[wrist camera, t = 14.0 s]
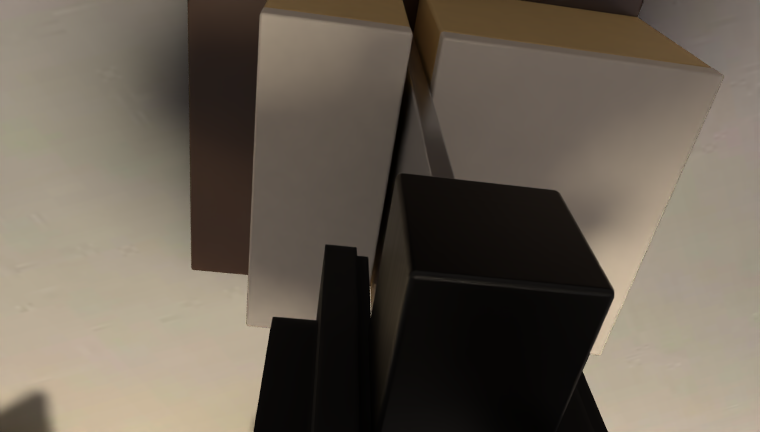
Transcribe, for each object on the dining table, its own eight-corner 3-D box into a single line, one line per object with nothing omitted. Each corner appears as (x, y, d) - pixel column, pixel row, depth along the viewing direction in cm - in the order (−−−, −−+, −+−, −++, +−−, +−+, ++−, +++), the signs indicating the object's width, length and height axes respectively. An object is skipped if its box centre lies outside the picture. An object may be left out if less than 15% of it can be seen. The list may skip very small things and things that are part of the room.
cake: (421, -15, 16) (443, 37, 12) (638, 16, 17) (726, 75, 13) (378, 238, 21) (384, 338, 17) (554, 256, 21) (600, 356, 17)
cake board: (190, -95, 16) (185, -93, 15) (643, -27, 17) (652, -22, 17) (194, 260, 21) (190, 270, 21) (533, 291, 23) (538, 302, 22)
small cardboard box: (282, -35, 16) (259, 12, 12) (398, -18, 16) (413, 33, 12) (266, 227, 20) (245, 326, 16) (359, 236, 21) (361, 336, 17)
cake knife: (373, -15, 16) (408, 273, 6) (450, -4, 16) (620, 292, 6) (338, 245, 20) (323, 681, 10) (400, 251, 20) (449, 685, 10)
